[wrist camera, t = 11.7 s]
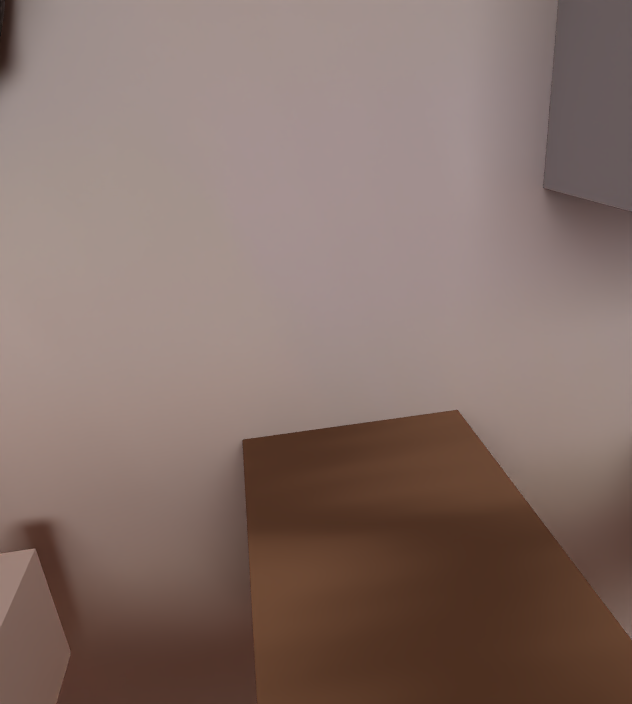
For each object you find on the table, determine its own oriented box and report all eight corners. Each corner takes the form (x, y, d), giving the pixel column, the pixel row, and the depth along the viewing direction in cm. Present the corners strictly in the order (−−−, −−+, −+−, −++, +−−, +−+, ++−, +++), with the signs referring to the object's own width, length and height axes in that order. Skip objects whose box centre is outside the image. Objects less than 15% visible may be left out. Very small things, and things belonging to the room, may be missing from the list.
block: (266, 604, 14) (303, 1046, 7) (242, 439, 12) (264, 835, 5) (452, 572, 14) (640, 962, 8) (457, 409, 12) (709, 742, 6)
